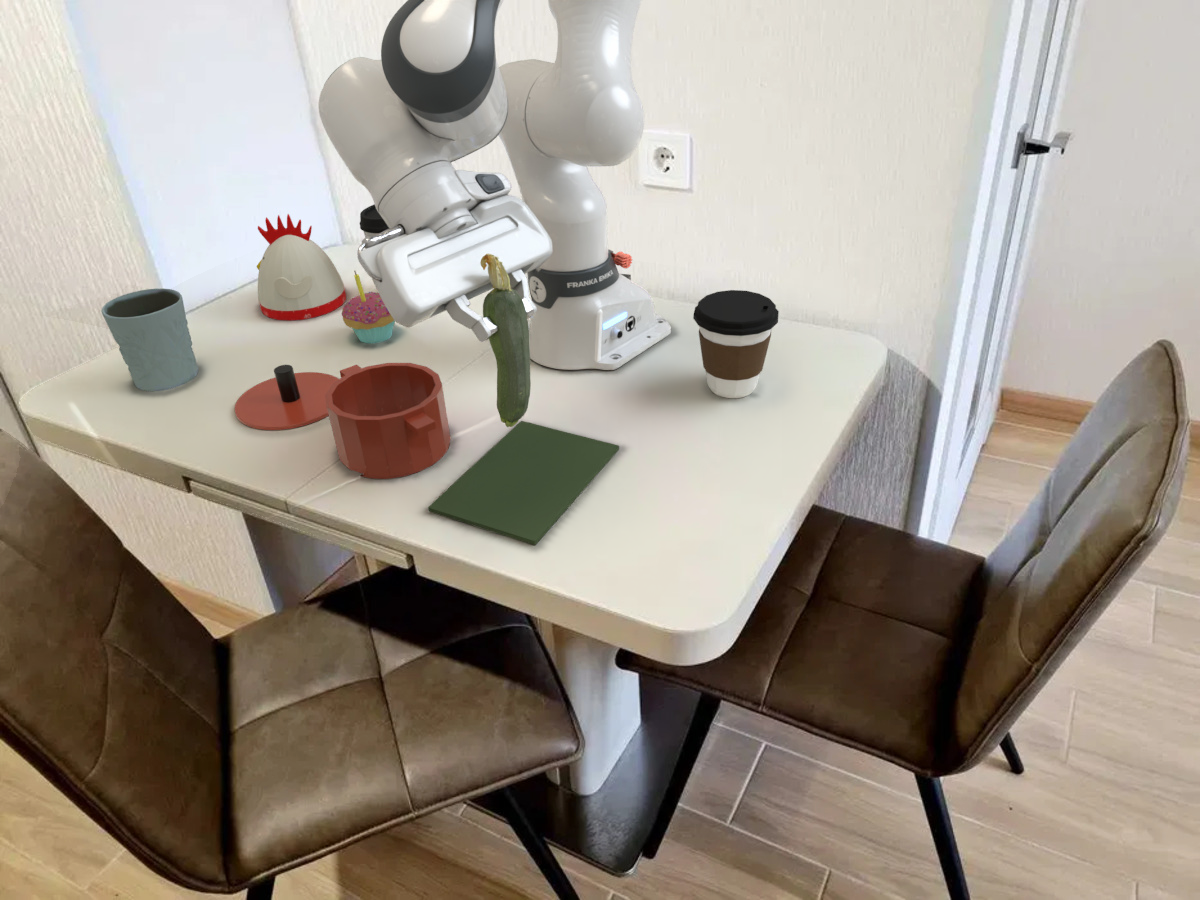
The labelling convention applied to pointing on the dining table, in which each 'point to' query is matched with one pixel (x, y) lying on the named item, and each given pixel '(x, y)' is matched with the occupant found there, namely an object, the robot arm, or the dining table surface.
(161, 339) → the blue-grey cup
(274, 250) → the kitchen timer
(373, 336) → the cupcake
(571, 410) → the dining table surface
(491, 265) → the vegetable
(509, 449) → the mat
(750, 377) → the coffee cup
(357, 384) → the pot
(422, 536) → the dining table surface
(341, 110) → the robot arm
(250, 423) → the pot lid
